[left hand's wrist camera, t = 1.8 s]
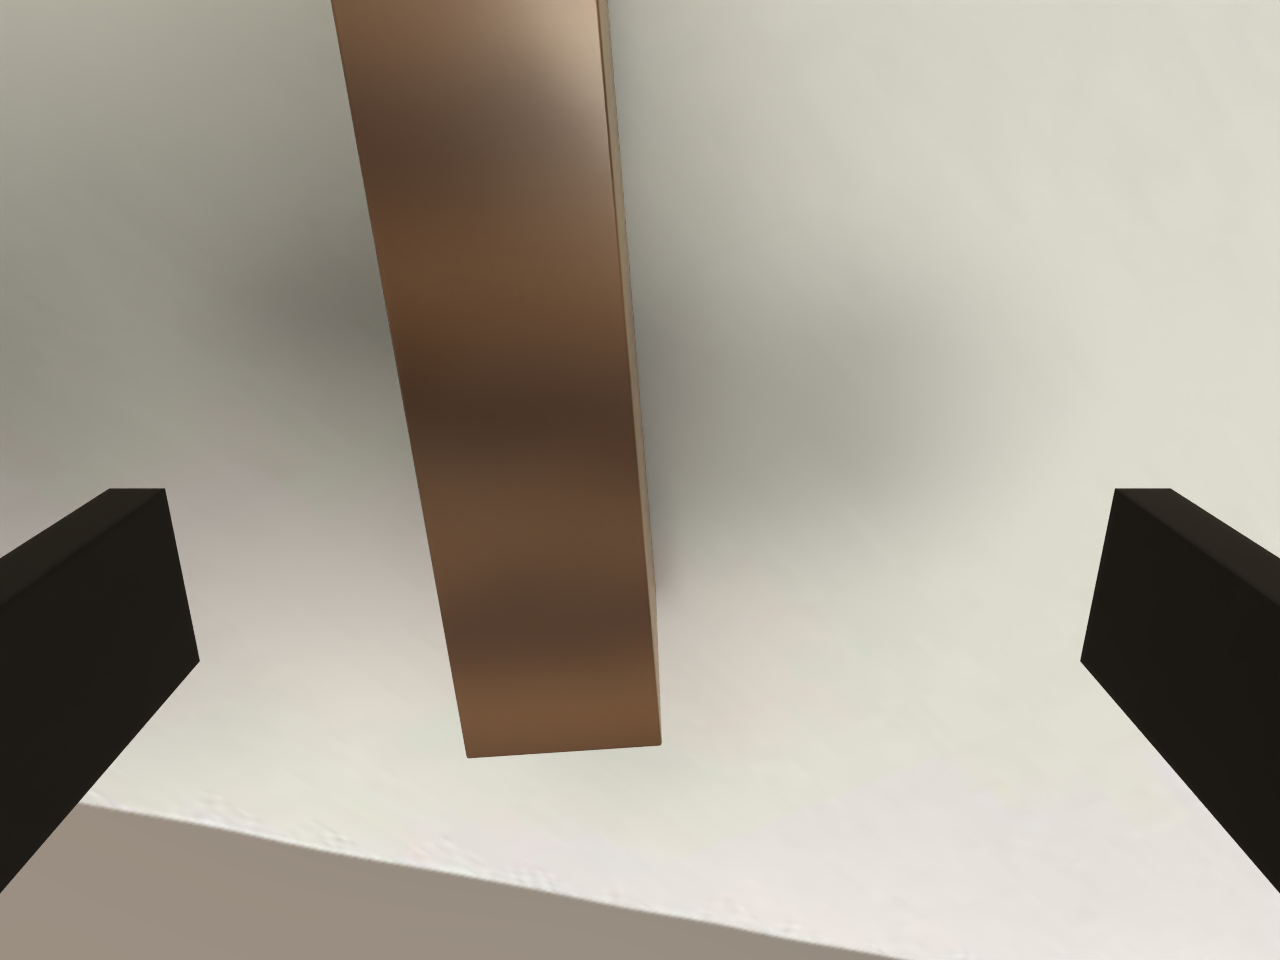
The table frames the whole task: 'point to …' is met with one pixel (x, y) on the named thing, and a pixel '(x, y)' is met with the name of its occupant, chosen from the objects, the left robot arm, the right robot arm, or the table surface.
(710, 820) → the table surface
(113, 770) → the table surface
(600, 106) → the post
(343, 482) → the table surface
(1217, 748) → the left robot arm
